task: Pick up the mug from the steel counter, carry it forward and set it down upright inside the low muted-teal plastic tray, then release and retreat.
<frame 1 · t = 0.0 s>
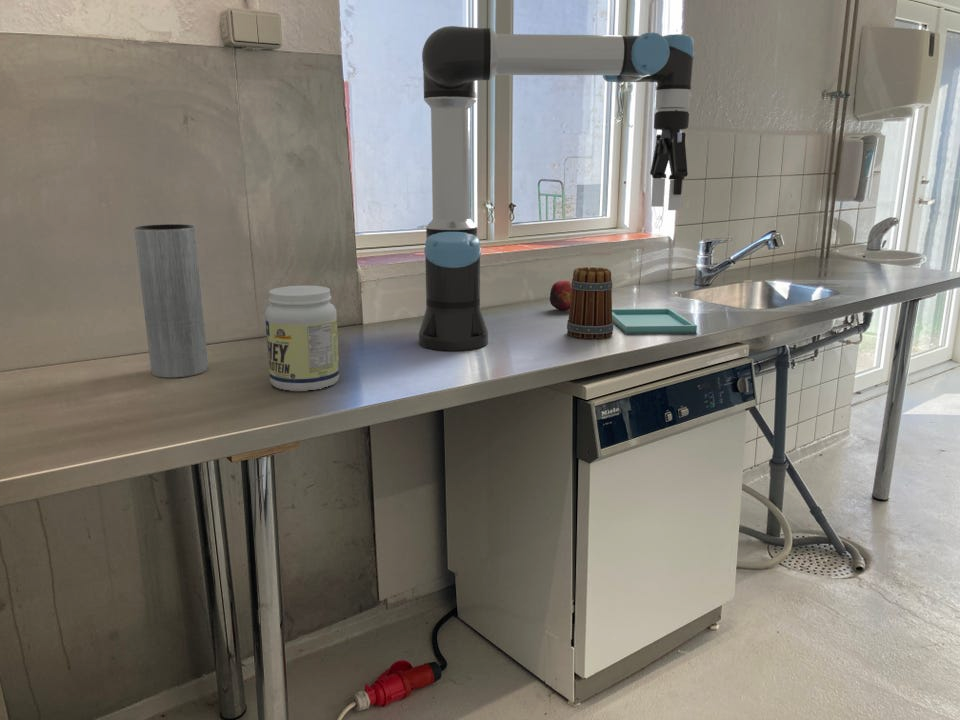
hand: (665, 208, 169), 28 cm above the table, fingers open, 13 cm apart
tray: (648, 324, 180), on the table
fruit: (563, 311, 197), on the table
supplement tub: (305, 384, 132), on the table
vase: (180, 372, 140), on the table
mug: (590, 333, 172), on the table
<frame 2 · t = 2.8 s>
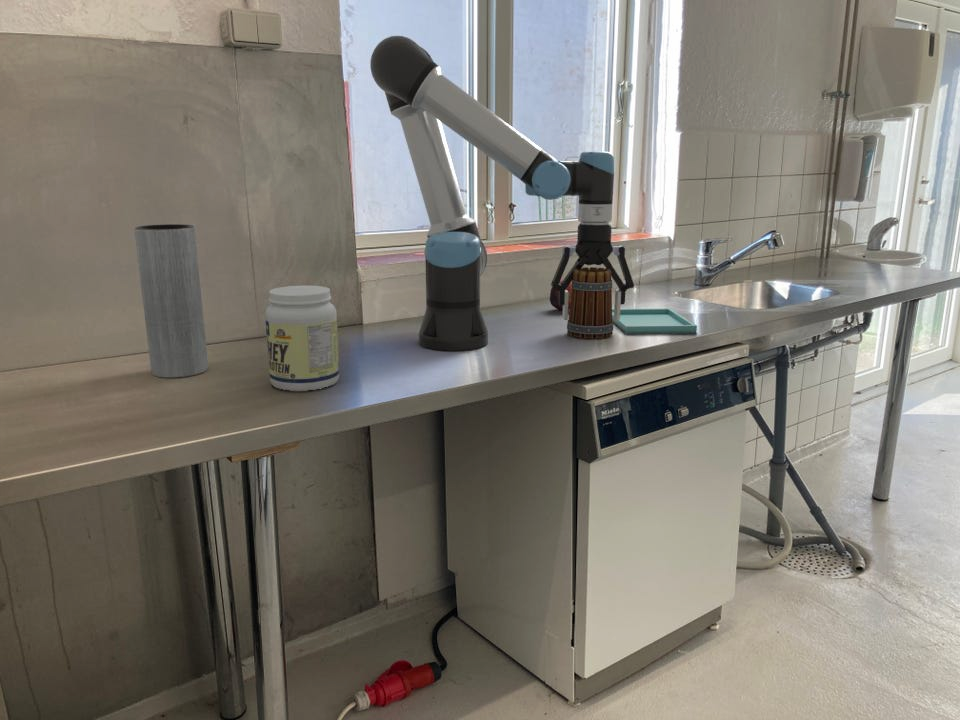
hand: (591, 318, 171), 3 cm above the table, fingers open, 11 cm apart
mug: (590, 333, 172), on the table, touching gripper
everything else where it was.
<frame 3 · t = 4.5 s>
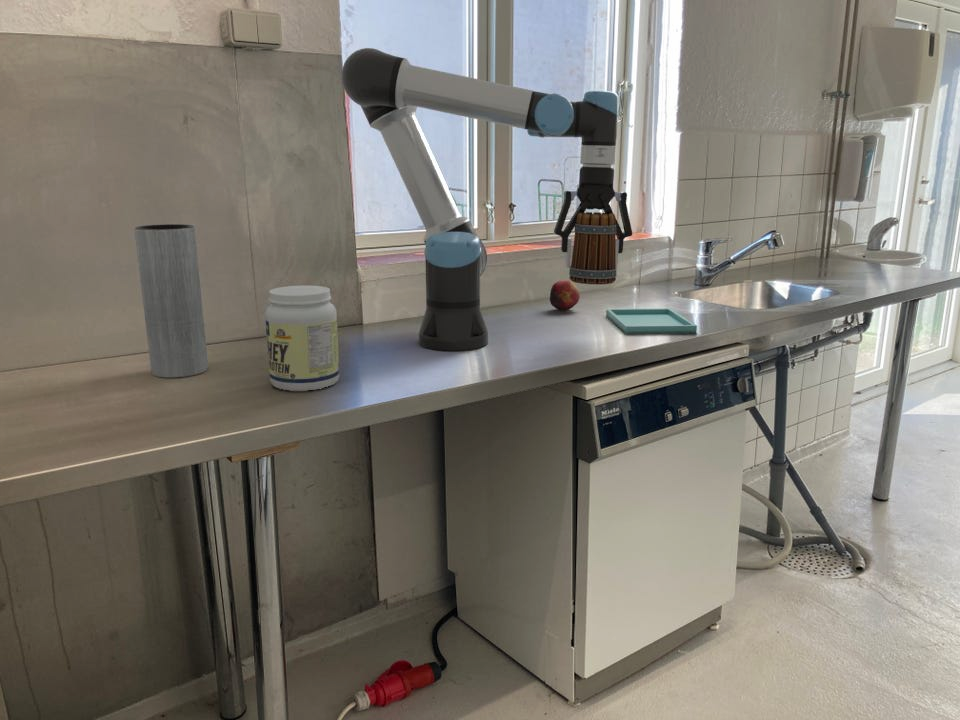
hand: (590, 267, 168), 15 cm above the table, fingers closed on mug, 10 cm apart
mug: (592, 280, 169), point 12 cm above the table, touching gripper
everything else where it was.
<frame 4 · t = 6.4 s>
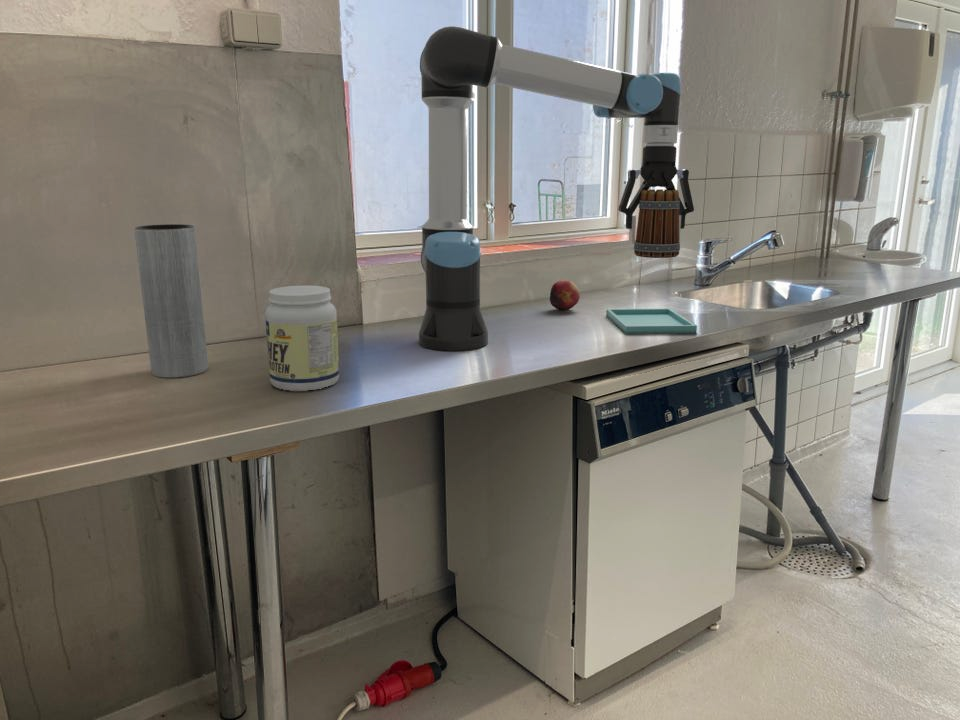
hand: (653, 242, 175), 20 cm above the table, fingers closed on mug, 10 cm apart
mug: (656, 255, 176), point 17 cm above the table, touching gripper
everything else where it was.
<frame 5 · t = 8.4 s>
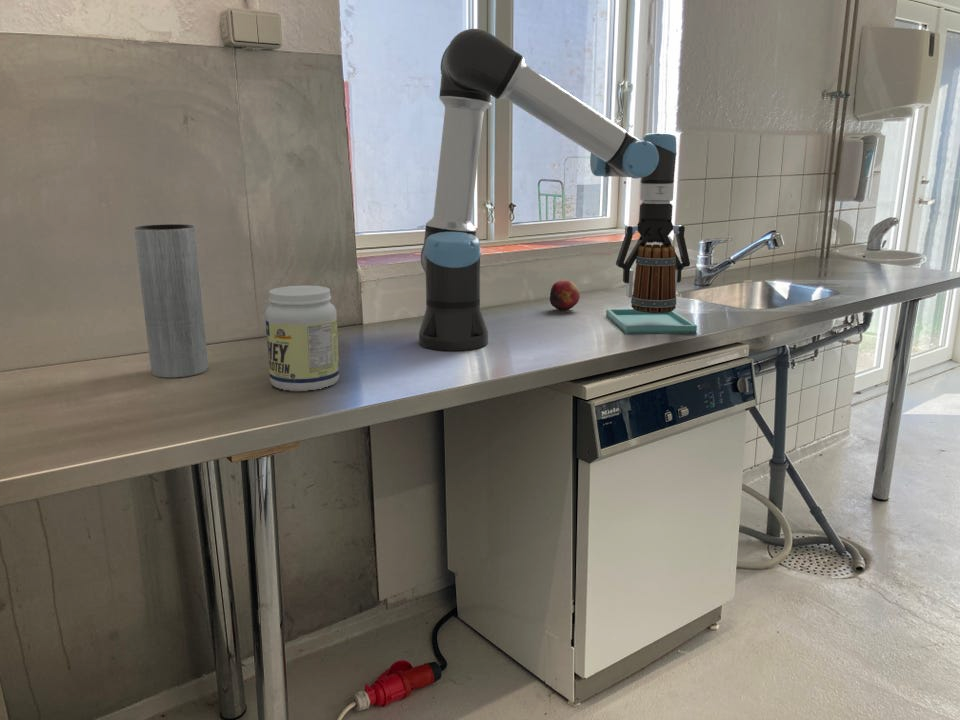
hand: (650, 296, 178), 7 cm above the table, fingers closed on mug, 10 cm apart
mug: (653, 307, 179), point 4 cm above the table, touching gripper
everything else where it was.
when the fingers open (5 cm above the table, at t = 9.5 s): mug drops 1 cm, resting on tray.
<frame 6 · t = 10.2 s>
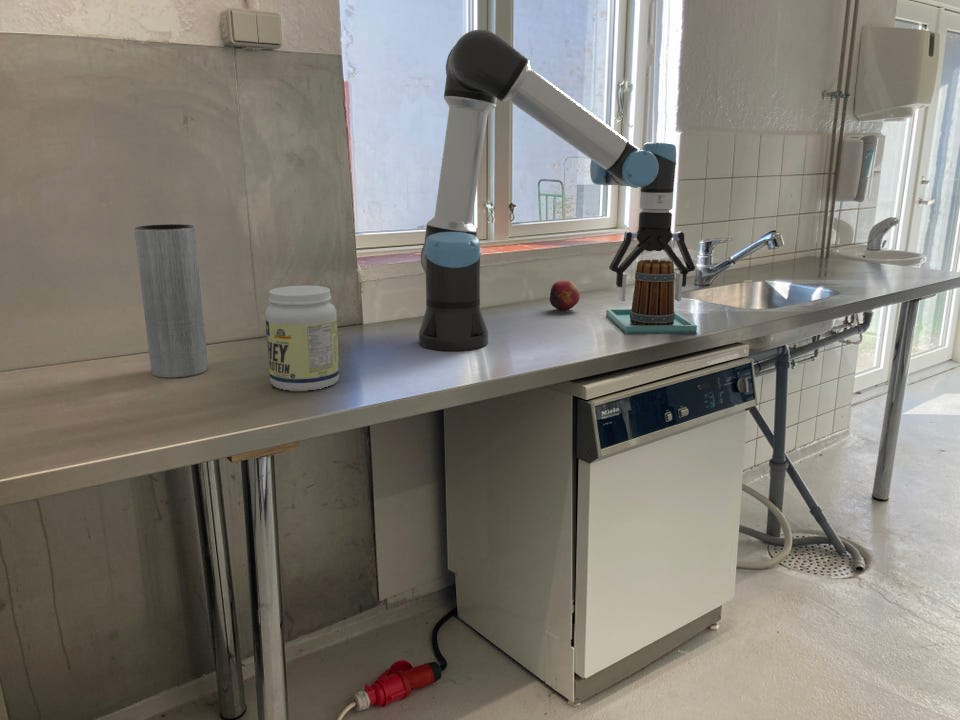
hand: (649, 300, 179), 6 cm above the table, fingers open, 13 cm apart
mug: (651, 322, 180), resting on tray
everything else where it was.
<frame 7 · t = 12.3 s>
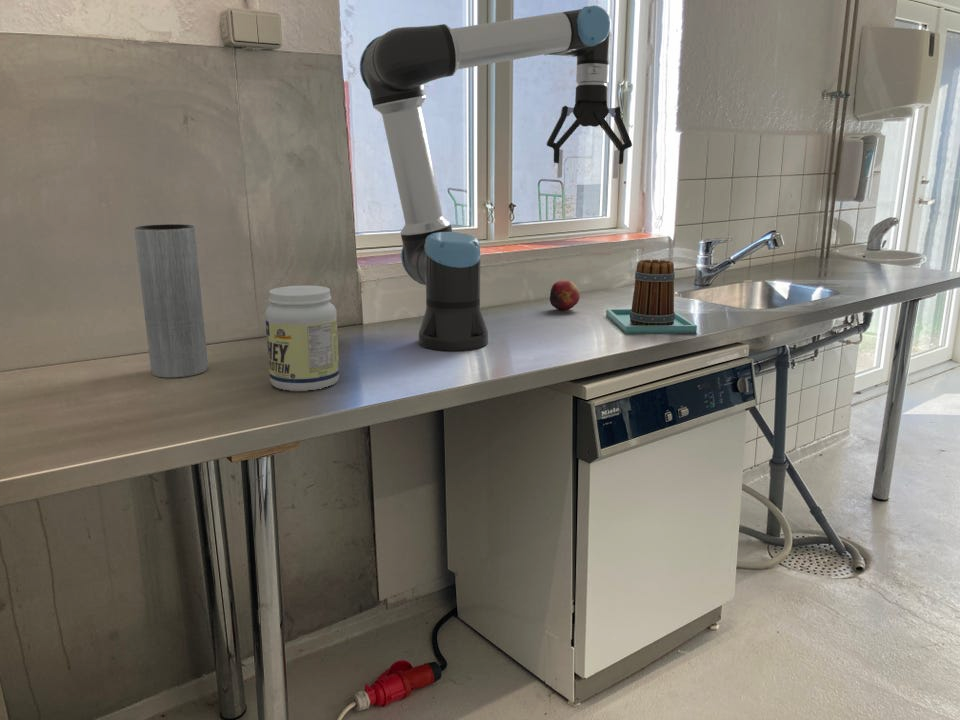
hand: (587, 178, 179), 34 cm above the table, fingers open, 13 cm apart
nothing on the table moved.
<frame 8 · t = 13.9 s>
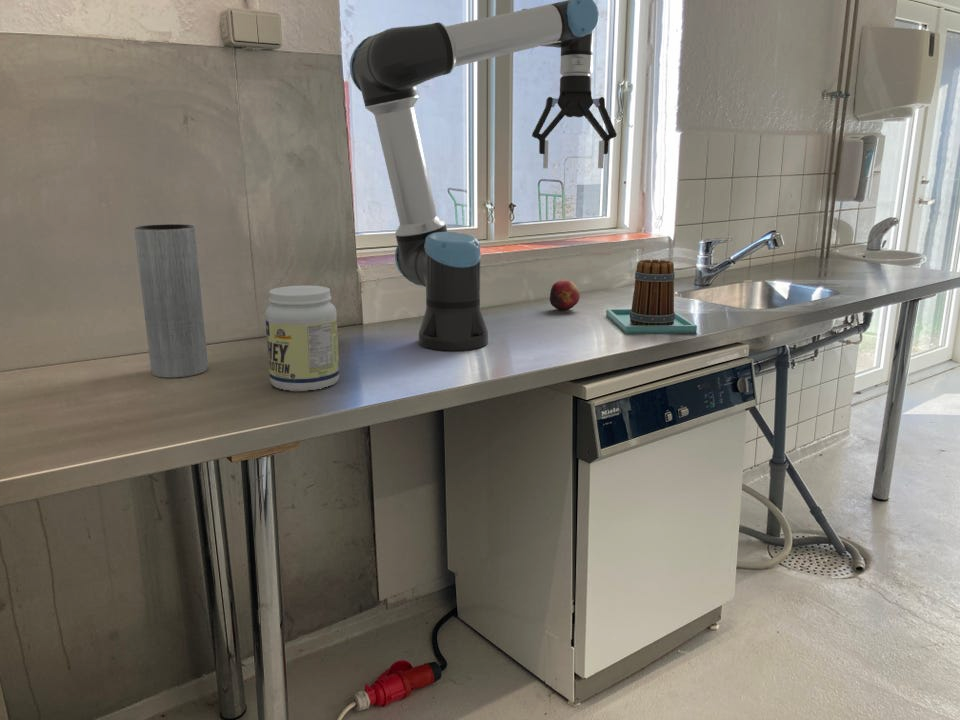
hand: (573, 168, 180), 37 cm above the table, fingers open, 13 cm apart
nothing on the table moved.
at the end: mug inside the target area on the tray (0.6 cm from its centre), point 0.4 cm above the tray's base; mug tilted 0°; mug touching tray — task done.
